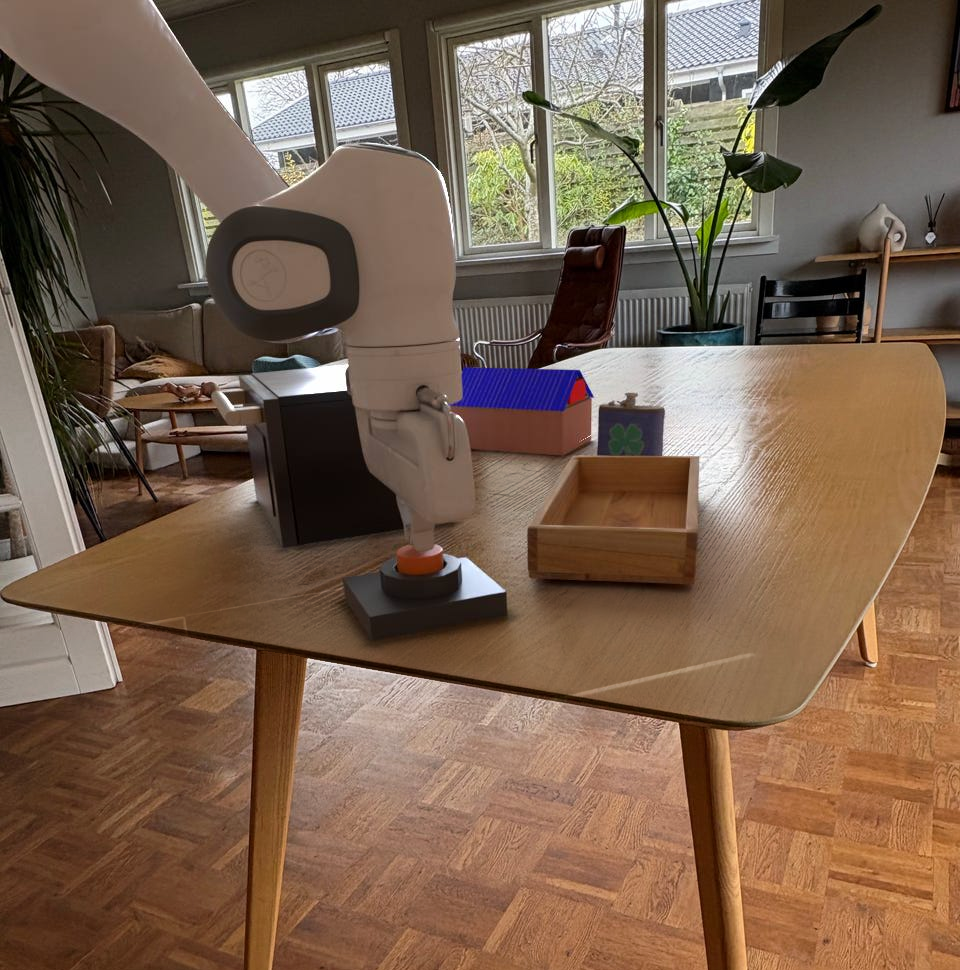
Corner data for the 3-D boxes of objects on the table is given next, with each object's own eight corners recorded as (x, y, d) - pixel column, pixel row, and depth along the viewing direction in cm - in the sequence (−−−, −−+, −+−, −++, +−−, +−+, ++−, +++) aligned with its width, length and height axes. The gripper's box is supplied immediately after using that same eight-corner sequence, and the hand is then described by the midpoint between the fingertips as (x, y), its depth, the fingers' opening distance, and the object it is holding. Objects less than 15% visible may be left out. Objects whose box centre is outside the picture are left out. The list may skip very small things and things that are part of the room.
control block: (372, 641, 68) (367, 596, 66) (345, 600, 77) (340, 559, 75) (507, 615, 72) (506, 571, 70) (467, 578, 80) (465, 538, 79)
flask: (664, 472, 114) (667, 391, 109) (657, 477, 111) (660, 395, 107) (600, 467, 118) (601, 389, 113) (592, 472, 116) (593, 393, 111)
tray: (572, 496, 105) (572, 451, 102) (696, 499, 101) (699, 452, 99) (527, 586, 78) (525, 527, 75) (694, 593, 74) (698, 532, 72)
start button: (405, 580, 70) (403, 561, 70) (392, 566, 74) (390, 547, 73) (449, 572, 72) (448, 553, 71) (435, 558, 75) (434, 540, 74)
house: (485, 433, 144) (482, 362, 139) (593, 440, 135) (594, 364, 130) (449, 447, 134) (445, 372, 129) (563, 456, 125) (563, 375, 120)
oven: (300, 546, 92) (278, 396, 85) (270, 499, 110) (251, 373, 104) (454, 522, 97) (445, 380, 91) (401, 481, 116) (391, 360, 109)
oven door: (247, 552, 90) (224, 402, 83) (226, 503, 109) (206, 378, 102) (297, 545, 92) (278, 398, 85) (268, 498, 110) (251, 374, 104)
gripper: (492, 392, 58) (499, 578, 64) (408, 363, 76) (420, 511, 81) (405, 401, 56) (421, 592, 62) (339, 370, 74) (356, 521, 80)
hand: (419, 546), depth 72 cm, fingers closed
